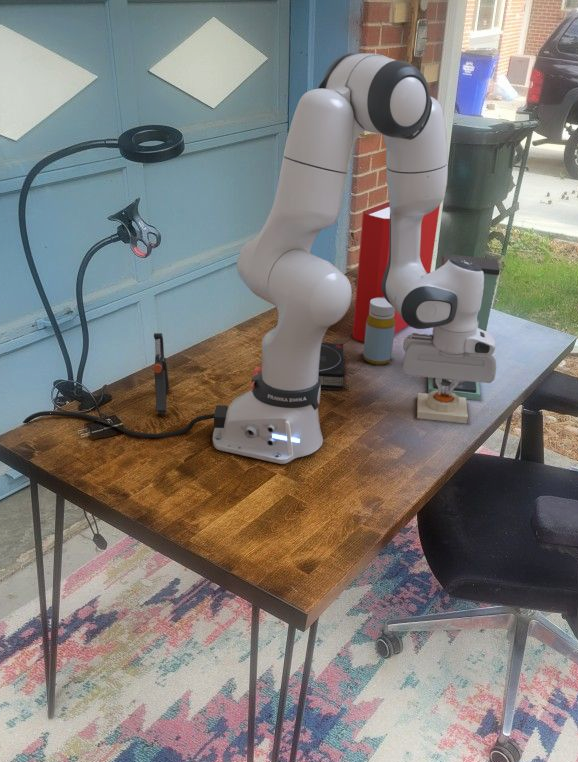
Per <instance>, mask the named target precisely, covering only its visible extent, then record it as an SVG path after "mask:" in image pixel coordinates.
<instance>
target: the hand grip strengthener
mask: <svg viewBox="0 0 578 762" xmlns="http://www.w3.org/2000/svg"><path fill="white" fill-rule="evenodd" d="M153 339H154V345H155V346H154V350H155V352H154V353H155V357H154V365H153V368H152V370H153V373H154V375H153V376H154V386H155V387H154V393H155V412H156V413H157V415H158V416H166V413H167V411H168V410H167V409H168V408H167V406H168V405H167V395H168V393H169V390H170V381H169V373H168V363H167V358H166V357H165V349H164V337H163V333H161V332H160V333H159V332H154V333H153Z"/></svg>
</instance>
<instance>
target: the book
mask: <svg viewBox="0 0 578 762" xmlns="http://www.w3.org/2000/svg"><path fill="white" fill-rule="evenodd" d="M440 208H441V204H440V205H439V206H438V207H437V208H436V209H435V210H433V211H432V212H430V213H428V214H426V215H424V217H423V219H422V223H421V241H420V259H421V263H422V265H423V267H424V269H425V271H426V272H427V274H428V273H431V272H432V263H433V258H434V257H433V256H434V248H435V242H436V235H437V228H438V220H439V215H440ZM389 237H390V205H389V201H387V202H385V203H381V204H379V205H376V206H373V207H371V208H368V209H365V210H363V211H362V216H361V229H360V242H359V253H358V268H357V279H356V291H355V301H354V302H355V303H354V312H353V313H354V314H353V315H354V316H353V327H352V339H353V340H355V341H359V342H362V343H364V342H365V331H366V321H367V318H368V315H369V307H370V301H371V300H372V299H374V298H385V297H384V295H383V293H382V279H383V276H384V273H385V270H386V267H387V264H388V260H389ZM394 319H395V329H394V335H396V334H398V333H399V332H401V331H402V330H404V329H405V328H407V327H409V325H408V324H407V323H406V322H405V321H404V320H403V319H402V318H401V316H400V315H399V314H398V313H397V311H396V310H395V312H394Z"/></svg>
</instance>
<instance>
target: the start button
mask: <svg viewBox="0 0 578 762" xmlns="http://www.w3.org/2000/svg"><path fill="white" fill-rule="evenodd" d="M434 399H436V400H437V401H440V402H445V403H447V402H452V399H453V396H452V394H451V397H449V396H439V395H438V392H437V393H436V394H435V398H434Z"/></svg>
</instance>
